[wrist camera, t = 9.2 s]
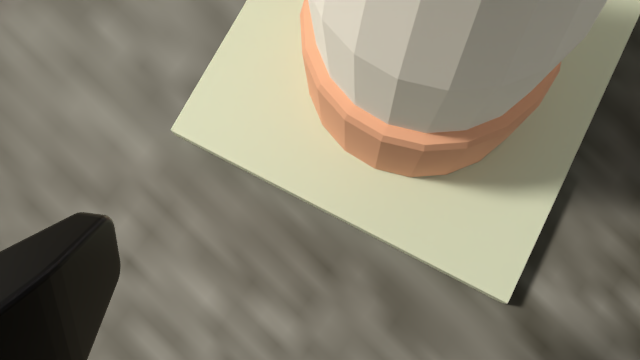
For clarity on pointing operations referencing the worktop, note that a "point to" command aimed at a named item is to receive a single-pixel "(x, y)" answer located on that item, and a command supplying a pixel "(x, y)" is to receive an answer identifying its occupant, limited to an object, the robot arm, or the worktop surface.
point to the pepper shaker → (434, 73)
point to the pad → (388, 188)
